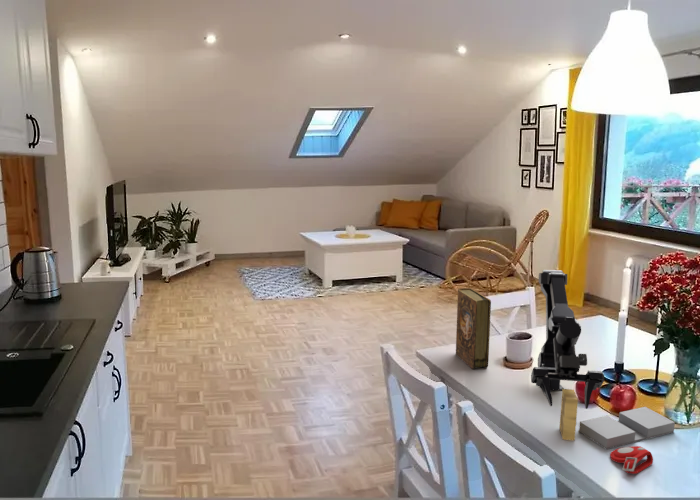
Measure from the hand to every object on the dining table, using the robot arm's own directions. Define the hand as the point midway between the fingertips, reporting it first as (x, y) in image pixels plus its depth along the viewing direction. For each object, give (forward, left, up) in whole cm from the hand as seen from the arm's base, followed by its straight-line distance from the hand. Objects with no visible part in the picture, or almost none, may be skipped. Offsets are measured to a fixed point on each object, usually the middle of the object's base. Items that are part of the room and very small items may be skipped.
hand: (568, 406), depth 160 cm
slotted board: (0, +17, -8) cm, 19 cm away
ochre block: (0, 0, -8) cm, 8 cm away
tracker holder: (+15, +9, -9) cm, 20 cm away
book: (-53, -12, -8) cm, 55 cm away
